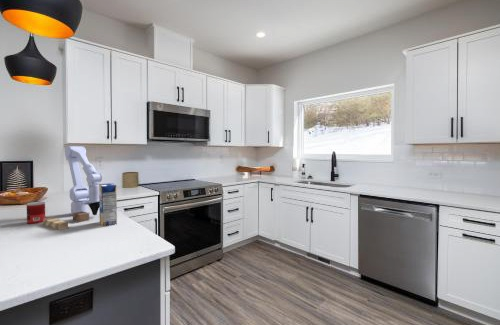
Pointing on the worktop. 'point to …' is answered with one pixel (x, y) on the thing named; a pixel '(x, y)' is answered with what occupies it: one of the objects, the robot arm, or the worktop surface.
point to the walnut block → (80, 216)
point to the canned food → (35, 212)
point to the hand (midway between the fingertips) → (94, 214)
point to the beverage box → (108, 204)
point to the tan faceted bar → (55, 223)
